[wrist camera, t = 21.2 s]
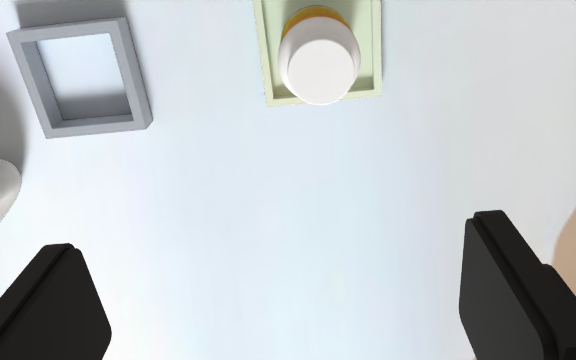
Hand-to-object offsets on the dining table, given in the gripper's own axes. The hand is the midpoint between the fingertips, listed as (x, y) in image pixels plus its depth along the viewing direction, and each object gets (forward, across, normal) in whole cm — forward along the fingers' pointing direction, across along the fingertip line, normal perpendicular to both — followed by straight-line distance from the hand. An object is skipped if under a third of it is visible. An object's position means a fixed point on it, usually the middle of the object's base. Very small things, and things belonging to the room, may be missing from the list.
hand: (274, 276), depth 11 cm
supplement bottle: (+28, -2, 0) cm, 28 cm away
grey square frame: (+28, +17, +1) cm, 33 cm away
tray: (+28, -2, 0) cm, 28 cm away
